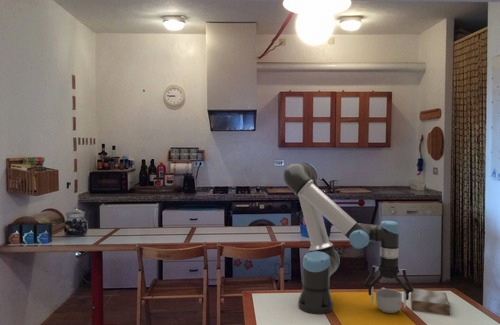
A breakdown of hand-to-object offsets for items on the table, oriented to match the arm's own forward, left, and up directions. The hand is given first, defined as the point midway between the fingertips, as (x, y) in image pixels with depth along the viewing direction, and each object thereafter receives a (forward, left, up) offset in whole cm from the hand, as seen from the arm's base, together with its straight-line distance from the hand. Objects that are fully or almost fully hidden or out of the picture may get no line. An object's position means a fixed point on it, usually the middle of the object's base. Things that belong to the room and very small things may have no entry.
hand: (388, 304), depth 180 cm
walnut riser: (+17, +12, -2) cm, 21 cm away
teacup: (0, 0, -2) cm, 2 cm away
